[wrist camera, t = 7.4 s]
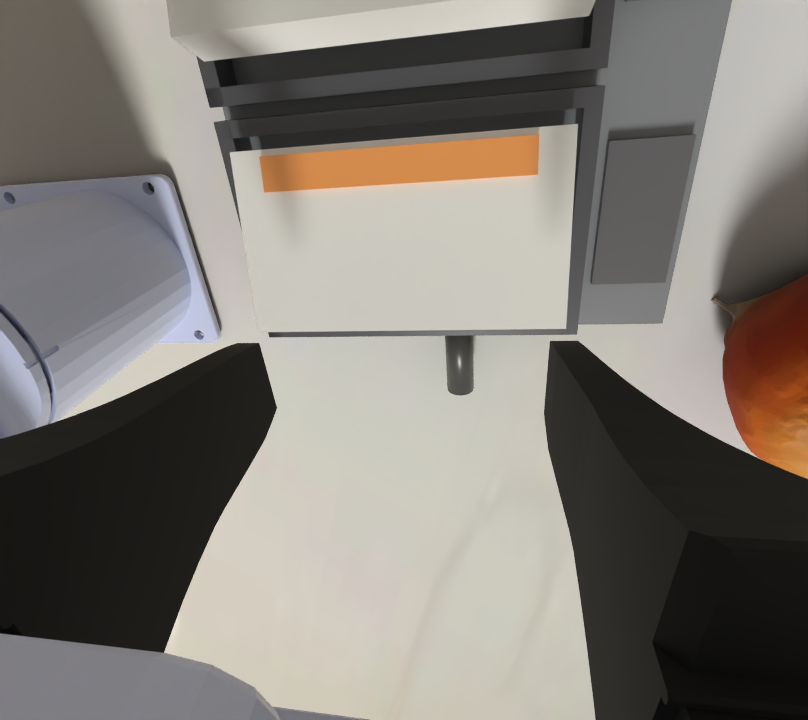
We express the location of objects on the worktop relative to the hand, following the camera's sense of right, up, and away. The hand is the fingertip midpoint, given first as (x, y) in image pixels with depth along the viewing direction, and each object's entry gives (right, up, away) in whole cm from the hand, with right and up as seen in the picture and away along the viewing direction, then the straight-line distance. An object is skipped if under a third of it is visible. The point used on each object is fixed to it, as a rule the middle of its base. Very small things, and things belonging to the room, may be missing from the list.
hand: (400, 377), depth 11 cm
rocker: (0, +4, +4) cm, 6 cm away
